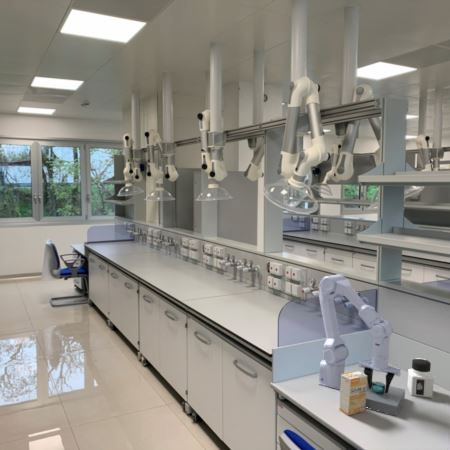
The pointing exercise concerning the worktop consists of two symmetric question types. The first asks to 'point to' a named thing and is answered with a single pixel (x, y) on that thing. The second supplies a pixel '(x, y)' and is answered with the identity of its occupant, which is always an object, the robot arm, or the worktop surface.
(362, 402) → the supplement box
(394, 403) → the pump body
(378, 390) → the plunger
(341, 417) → the worktop surface
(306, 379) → the worktop surface
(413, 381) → the container
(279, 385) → the worktop surface
